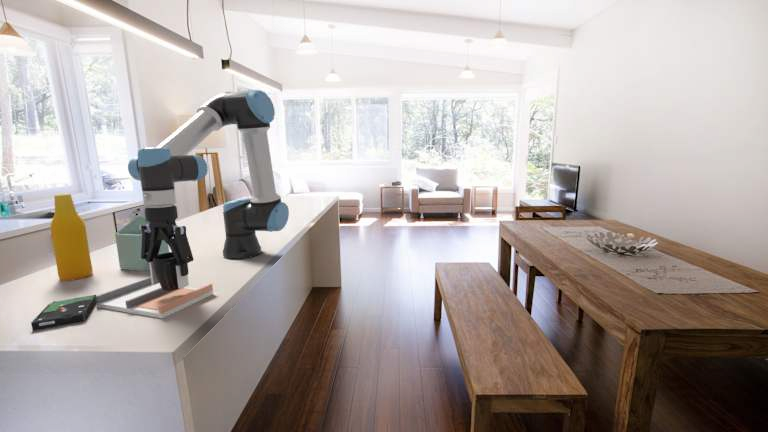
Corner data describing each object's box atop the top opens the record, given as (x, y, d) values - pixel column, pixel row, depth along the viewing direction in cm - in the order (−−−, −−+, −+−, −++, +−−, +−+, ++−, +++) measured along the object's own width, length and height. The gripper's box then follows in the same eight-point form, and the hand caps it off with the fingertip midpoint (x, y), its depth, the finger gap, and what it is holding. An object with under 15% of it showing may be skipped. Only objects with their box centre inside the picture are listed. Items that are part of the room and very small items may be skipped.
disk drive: (86, 323, 92) (98, 302, 105) (84, 313, 92) (96, 293, 104) (32, 333, 87) (51, 310, 100) (30, 323, 87) (49, 301, 99)
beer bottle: (82, 271, 133) (69, 193, 129) (99, 273, 130) (86, 193, 126) (52, 279, 125) (37, 196, 120) (70, 282, 122) (55, 196, 117)
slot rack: (153, 286, 116) (152, 276, 116) (213, 294, 108) (212, 284, 108) (96, 307, 100) (95, 296, 100) (162, 318, 92) (160, 306, 92)
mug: (151, 299, 94) (146, 264, 93) (159, 284, 105) (155, 253, 104) (186, 294, 97) (182, 260, 96) (191, 280, 108) (188, 250, 107)
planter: (116, 274, 129) (107, 220, 125) (120, 268, 136) (112, 217, 132) (169, 267, 136) (162, 215, 133) (170, 262, 143) (164, 213, 140)
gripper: (117, 206, 98) (129, 285, 102) (179, 208, 91) (188, 293, 94) (144, 203, 105) (153, 277, 109) (203, 204, 98) (211, 284, 101)
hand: (170, 284), depth 101 cm, fingers closed on mug, 9 cm apart
